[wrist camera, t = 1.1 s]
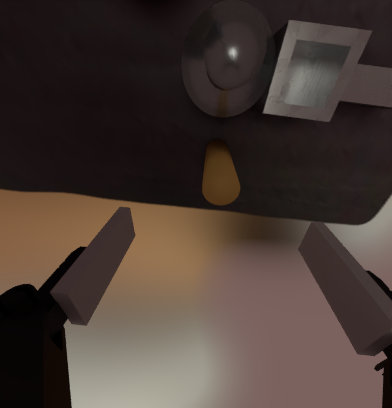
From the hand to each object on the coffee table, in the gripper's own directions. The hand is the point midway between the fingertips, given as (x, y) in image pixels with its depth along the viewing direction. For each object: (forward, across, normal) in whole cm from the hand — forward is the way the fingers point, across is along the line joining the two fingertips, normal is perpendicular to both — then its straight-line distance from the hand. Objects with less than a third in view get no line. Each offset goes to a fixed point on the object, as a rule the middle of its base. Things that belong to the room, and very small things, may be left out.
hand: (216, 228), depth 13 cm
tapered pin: (+19, 0, +1) cm, 19 cm away
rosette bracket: (+19, +8, +10) cm, 23 cm away
